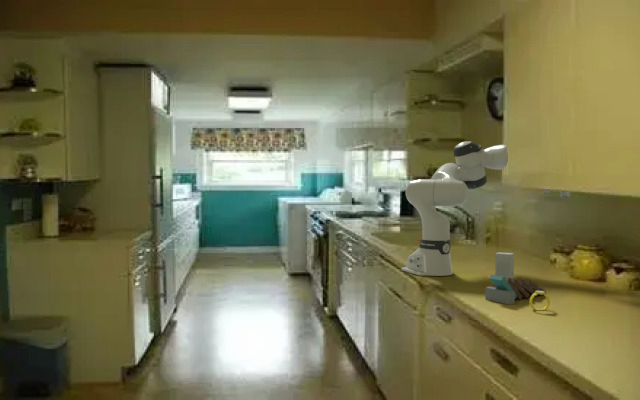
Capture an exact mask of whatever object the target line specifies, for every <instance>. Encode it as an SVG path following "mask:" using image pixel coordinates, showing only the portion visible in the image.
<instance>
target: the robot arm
mask: <svg viewBox="0 0 640 400" xmlns="http://www.w3.org/2000/svg"><path fill="white" fill-rule="evenodd" d="M507 153H508V152H507V147H506V145H504V143H503V144H497V145H492V146H490V147H486V148H484V149H482V145H481V144H477V143H476V142H474V141H470V140H469V141H467V140H466V141H462V142H460V143H458V144H456V145H455V146H454V148H453V156H454V158H455V159H454V160H455V163H454V162H446V163H445V164H443V165H441V166H439V167H438V168H437V170H436V171H435V172H434V173H433V174H432V176H431V178H428V179H427V178H426V179H425V178H420V179H415V180H411V181H409V182H408V184H407V185H406V187H405V197H406V200H407V201H408V202H409V204H410V205H412V206H413V207H414V208H415V209H416V210H417V212H418V215H419V217H420V220H421V226H422V227H421V229H422V230H421V232H422V233H421V235H422V239H420V240H419V239H418V240H417V244H419V246H418V248H417V249H416V250H415V251H413V253H411V254H410V255H408V257H407V261H406V262H407V265H406V266H403V267H401V271H403V272H406V273H410V274H413V275H417V276H432V277H439V276H440V277H441V276H442V277H443V276H444V277H445V276H451V275H454V272H453V266H452V259H451V258H452V257H451V247H452V246H451V245H452V243H451V239H450V232H451V231H450V230H451V223H450V220H449V219H448V218H447V217H446V216H444V215H443V214H441V213H439V212H438V211H437V208H436V207H457V206H463V205H464V204H465V203H466V202H467V201H468V198H469V190H477V189H480V188H482V187H483V186H484V185H486V184H487V182H488V179H487V174H486V170H485V168H486V169H490V170H498V171H499V170H500V171H504V170H503V169H504V167H506V165H507V162H508V154H507ZM541 191H542V192H543V193H545V194H550V193H553V192H555V191H550V190H541ZM558 192H559V193H560V194H559V197H560V198H561V199H566V198H569V197H571V192H572V191H571V192H565V191H559V190H558Z"/></svg>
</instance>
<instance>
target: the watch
mask: <svg viewBox="0 0 640 400" xmlns="http://www.w3.org/2000/svg"><path fill="white" fill-rule="evenodd" d="M544 291H545V290H544ZM544 291H535V293H534V294H532V296H529V305H530V308H531V309H532V310H534V311H535V310H539V311H541V310H542V311H544V310H545V311H546V310H547V309H548V308H549V306H550V303H551V302H550V298H549V296H548V294H546V292H544ZM537 294H538V295H539V294H541V295H540V296H545V298H546V303H545V306H544V307H541V308H536V307H534V305H533V300H534V298H535V296H536V295H537ZM543 294H544V295H543ZM538 295H537V296H538Z"/></svg>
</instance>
